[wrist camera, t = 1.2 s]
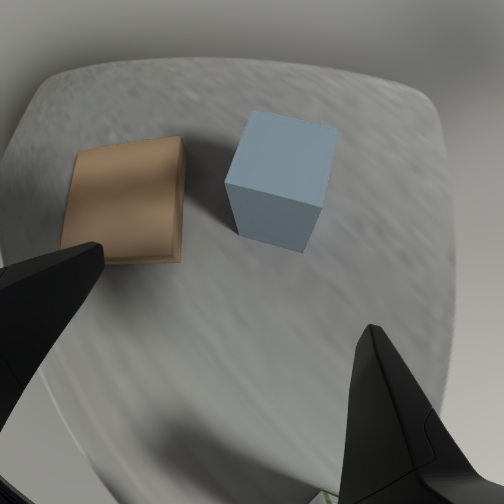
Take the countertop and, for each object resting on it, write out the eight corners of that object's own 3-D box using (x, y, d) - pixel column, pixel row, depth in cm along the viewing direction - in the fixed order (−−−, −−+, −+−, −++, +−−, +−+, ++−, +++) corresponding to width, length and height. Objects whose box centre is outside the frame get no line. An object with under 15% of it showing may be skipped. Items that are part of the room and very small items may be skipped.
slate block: (302, 253, 24) (322, 207, 15) (239, 235, 24) (224, 182, 15) (317, 195, 25) (339, 129, 16) (257, 179, 25) (252, 109, 17)
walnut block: (182, 263, 24) (171, 255, 21) (78, 266, 25) (59, 258, 22) (188, 154, 27) (180, 135, 24) (93, 166, 27) (78, 151, 24)
